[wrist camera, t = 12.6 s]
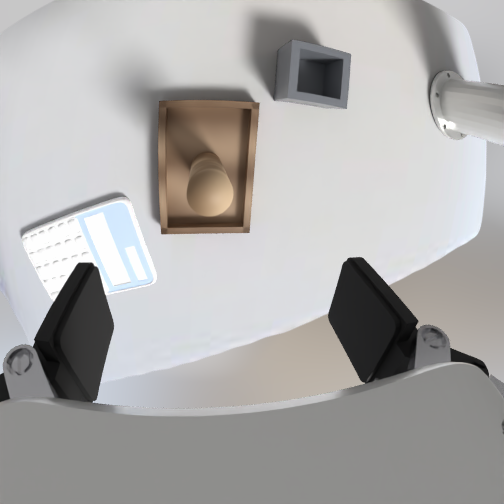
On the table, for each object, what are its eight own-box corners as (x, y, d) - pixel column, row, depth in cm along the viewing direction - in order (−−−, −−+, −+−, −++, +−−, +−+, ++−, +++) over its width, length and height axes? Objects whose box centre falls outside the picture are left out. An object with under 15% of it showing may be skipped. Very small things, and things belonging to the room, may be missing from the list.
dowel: (222, 151, 30) (234, 171, 20) (221, 181, 32) (232, 216, 21) (191, 151, 29) (186, 171, 19) (191, 181, 31) (186, 216, 21)
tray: (161, 102, 26) (159, 101, 25) (256, 103, 28) (259, 102, 27) (163, 227, 34) (161, 234, 32) (246, 226, 36) (249, 232, 34)
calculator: (23, 231, 30) (17, 237, 28) (129, 192, 31) (126, 196, 30) (58, 300, 37) (54, 307, 35) (160, 278, 38) (158, 285, 36)
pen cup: (329, 60, 27) (351, 54, 22) (325, 108, 30) (346, 108, 25) (278, 50, 25) (292, 39, 21) (273, 100, 29) (287, 98, 24)
